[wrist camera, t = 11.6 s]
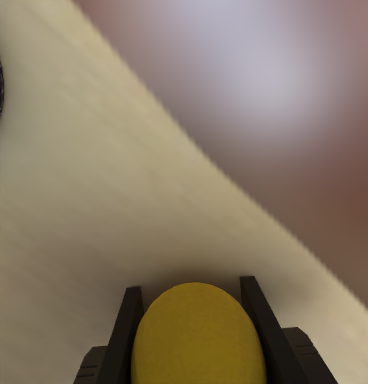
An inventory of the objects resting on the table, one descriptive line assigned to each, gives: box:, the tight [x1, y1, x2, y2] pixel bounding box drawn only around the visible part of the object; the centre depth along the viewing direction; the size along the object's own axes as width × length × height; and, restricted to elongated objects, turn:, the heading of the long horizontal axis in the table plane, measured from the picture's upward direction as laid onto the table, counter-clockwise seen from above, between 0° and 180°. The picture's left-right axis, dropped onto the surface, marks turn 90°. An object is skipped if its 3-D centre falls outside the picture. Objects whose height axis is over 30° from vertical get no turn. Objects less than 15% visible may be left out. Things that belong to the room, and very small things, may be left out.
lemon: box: [131, 282, 267, 384], centre depth 12 cm, size 6×6×8 cm
